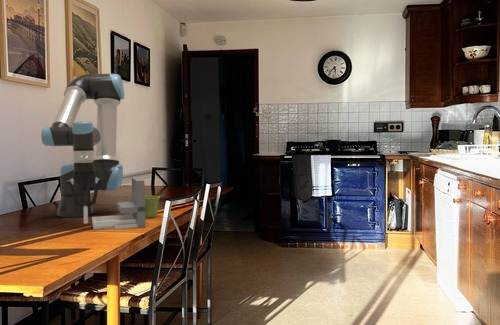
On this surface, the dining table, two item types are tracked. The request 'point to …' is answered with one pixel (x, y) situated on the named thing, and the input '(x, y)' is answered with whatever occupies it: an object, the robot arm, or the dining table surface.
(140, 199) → the stand
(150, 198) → the plant pot
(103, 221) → the white rectangular slab
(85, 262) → the dining table surface
